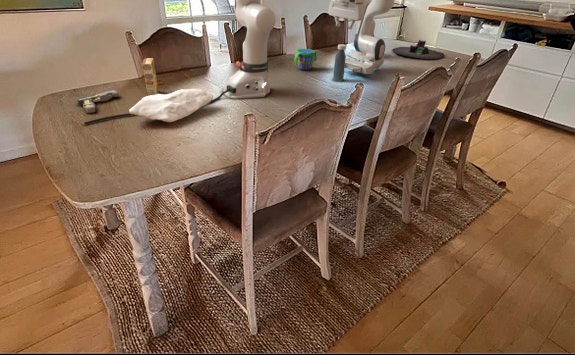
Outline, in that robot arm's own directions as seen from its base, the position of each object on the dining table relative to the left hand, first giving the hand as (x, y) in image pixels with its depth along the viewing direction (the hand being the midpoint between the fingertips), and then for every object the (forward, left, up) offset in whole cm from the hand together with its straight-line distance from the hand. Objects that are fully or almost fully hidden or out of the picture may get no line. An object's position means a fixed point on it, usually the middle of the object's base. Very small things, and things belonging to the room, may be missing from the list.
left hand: (343, 27), depth 181 cm
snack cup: (-7, +24, -26) cm, 37 cm away
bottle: (0, 0, -26) cm, 27 cm away
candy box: (-94, +12, -26) cm, 98 cm away
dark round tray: (+86, +30, -26) cm, 95 cm away
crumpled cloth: (-90, -13, -26) cm, 95 cm away
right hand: (+6, +1, -21) cm, 22 cm away
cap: (0, 0, -9) cm, 9 cm away
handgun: (-116, +9, -26) cm, 119 cm away
